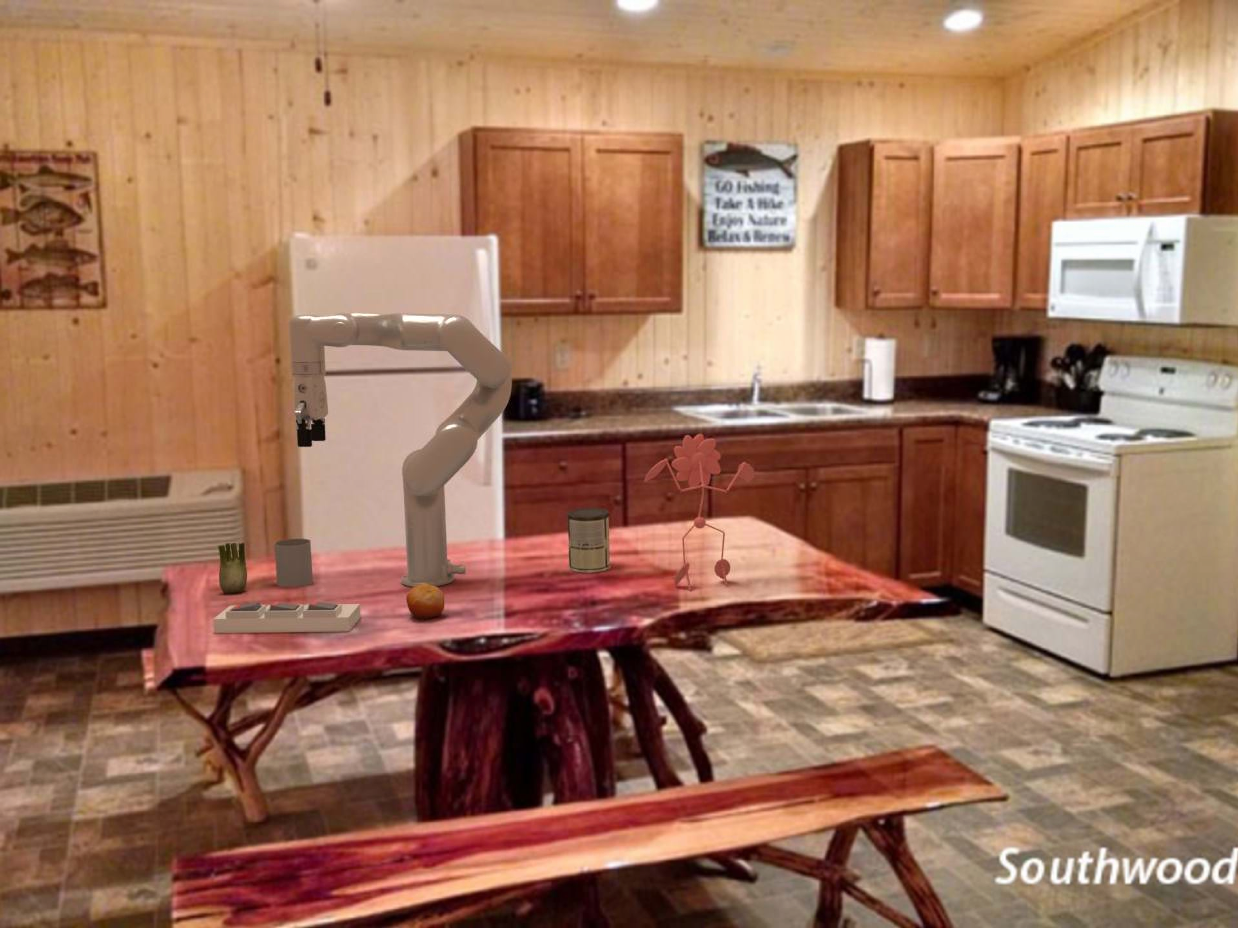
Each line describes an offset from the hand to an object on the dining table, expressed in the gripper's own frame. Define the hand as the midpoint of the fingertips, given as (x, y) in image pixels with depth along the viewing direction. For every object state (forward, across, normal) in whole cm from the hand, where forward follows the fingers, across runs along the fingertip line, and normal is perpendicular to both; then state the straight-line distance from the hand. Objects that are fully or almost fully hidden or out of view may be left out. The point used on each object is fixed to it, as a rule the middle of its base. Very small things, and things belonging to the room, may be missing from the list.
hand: (311, 443), depth 275 cm
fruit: (+34, -24, -31) cm, 52 cm away
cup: (+35, +5, +7) cm, 36 cm away
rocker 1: (+30, -32, +5) cm, 44 cm away
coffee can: (+34, +19, -62) cm, 73 cm away
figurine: (+33, +5, -89) cm, 95 cm away
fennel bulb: (+35, -4, +19) cm, 40 cm away
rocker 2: (+30, -32, -11) cm, 45 cm away
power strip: (+34, -30, -3) cm, 46 cm away
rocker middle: (+30, -32, -3) cm, 44 cm away
